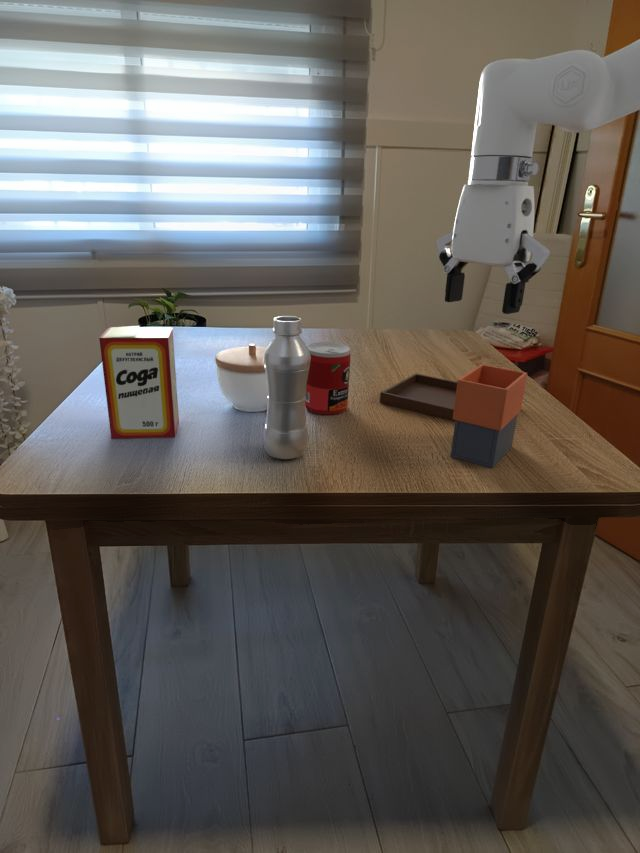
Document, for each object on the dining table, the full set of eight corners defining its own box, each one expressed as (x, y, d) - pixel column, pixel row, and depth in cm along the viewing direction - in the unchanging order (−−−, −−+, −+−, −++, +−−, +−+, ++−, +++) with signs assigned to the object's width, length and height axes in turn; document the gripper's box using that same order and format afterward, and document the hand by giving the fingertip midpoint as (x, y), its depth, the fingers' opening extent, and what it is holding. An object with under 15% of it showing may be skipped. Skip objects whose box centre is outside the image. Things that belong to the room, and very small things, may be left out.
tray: (507, 402, 108) (509, 392, 107) (480, 427, 96) (482, 416, 95) (414, 382, 118) (415, 373, 117) (379, 402, 106) (380, 392, 105)
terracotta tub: (520, 410, 87) (527, 372, 85) (500, 431, 79) (507, 389, 77) (476, 400, 91) (481, 364, 88) (452, 419, 83) (457, 379, 80)
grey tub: (511, 446, 89) (518, 410, 87) (492, 468, 82) (499, 429, 80) (472, 436, 92) (477, 401, 90) (450, 456, 85) (455, 419, 83)
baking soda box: (178, 421, 94) (172, 325, 88) (175, 437, 88) (167, 335, 82) (119, 422, 93) (108, 325, 87) (111, 438, 87) (99, 335, 81)
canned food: (335, 418, 98) (338, 356, 93) (295, 409, 101) (296, 348, 97) (355, 405, 104) (358, 346, 100) (317, 397, 107) (319, 339, 103)
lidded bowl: (226, 421, 95) (224, 357, 91) (210, 396, 106) (208, 338, 101) (297, 413, 99) (299, 351, 95) (275, 390, 110) (276, 334, 106)
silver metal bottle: (253, 455, 83) (251, 318, 76) (285, 441, 88) (287, 311, 81) (285, 469, 80) (287, 326, 72) (317, 454, 84) (322, 319, 77)
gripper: (577, 174, 70) (551, 314, 76) (462, 174, 82) (449, 295, 89) (543, 172, 65) (519, 321, 72) (428, 172, 78) (416, 299, 84)
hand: (480, 306), depth 80 cm, fingers open, 9 cm apart
